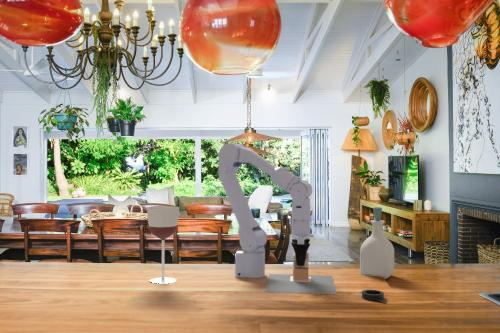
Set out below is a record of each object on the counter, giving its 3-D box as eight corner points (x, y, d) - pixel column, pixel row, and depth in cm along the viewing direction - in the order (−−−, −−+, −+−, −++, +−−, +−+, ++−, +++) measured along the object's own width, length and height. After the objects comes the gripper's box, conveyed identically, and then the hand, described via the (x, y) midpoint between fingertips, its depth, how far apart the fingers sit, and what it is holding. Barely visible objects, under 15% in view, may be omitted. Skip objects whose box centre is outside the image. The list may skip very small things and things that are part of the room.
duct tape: (360, 308, 132) (360, 296, 132) (356, 297, 142) (356, 287, 142) (390, 309, 131) (390, 298, 131) (384, 298, 141) (384, 288, 141)
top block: (293, 267, 154) (293, 255, 154) (293, 263, 159) (293, 252, 159) (308, 267, 154) (308, 255, 154) (308, 264, 158) (308, 252, 158)
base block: (293, 280, 154) (293, 268, 154) (293, 276, 159) (293, 265, 159) (308, 280, 154) (308, 269, 154) (308, 277, 158) (308, 265, 158)
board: (264, 296, 142) (264, 291, 142) (269, 277, 163) (269, 273, 163) (336, 298, 140) (336, 293, 140) (331, 279, 161) (331, 275, 161)
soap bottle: (395, 275, 168) (396, 206, 167) (387, 281, 159) (388, 209, 159) (367, 271, 173) (367, 205, 172) (358, 277, 164) (358, 207, 164)
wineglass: (181, 282, 156) (181, 208, 156) (148, 285, 153) (148, 209, 152) (176, 276, 165) (176, 205, 164) (145, 278, 162) (145, 206, 161)
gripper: (314, 223, 149) (314, 269, 149) (313, 217, 163) (313, 259, 163) (290, 222, 149) (290, 268, 149) (291, 217, 164) (291, 258, 164)
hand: (300, 263), depth 156 cm, fingers closed on top block, 5 cm apart
